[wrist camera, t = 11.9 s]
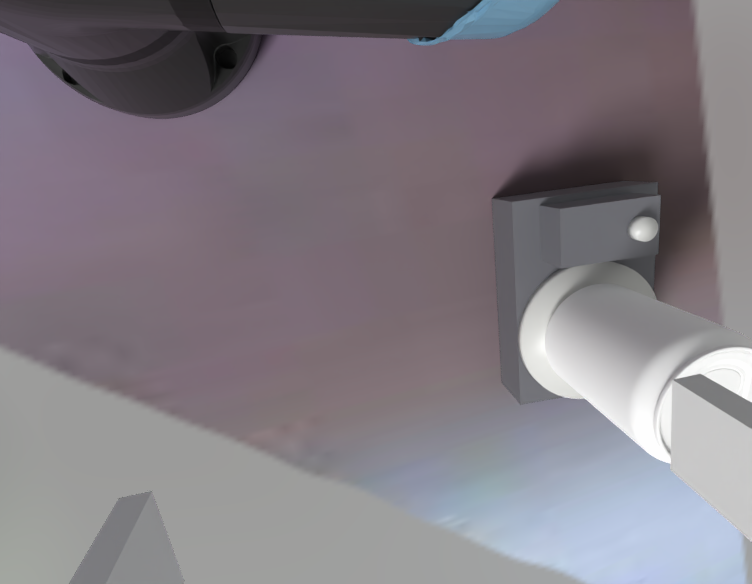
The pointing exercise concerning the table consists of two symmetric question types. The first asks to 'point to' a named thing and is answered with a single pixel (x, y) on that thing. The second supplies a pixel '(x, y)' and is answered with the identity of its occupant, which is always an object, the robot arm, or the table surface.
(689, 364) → the beverage can
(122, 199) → the table surface
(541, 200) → the grey hot plate stirrer
